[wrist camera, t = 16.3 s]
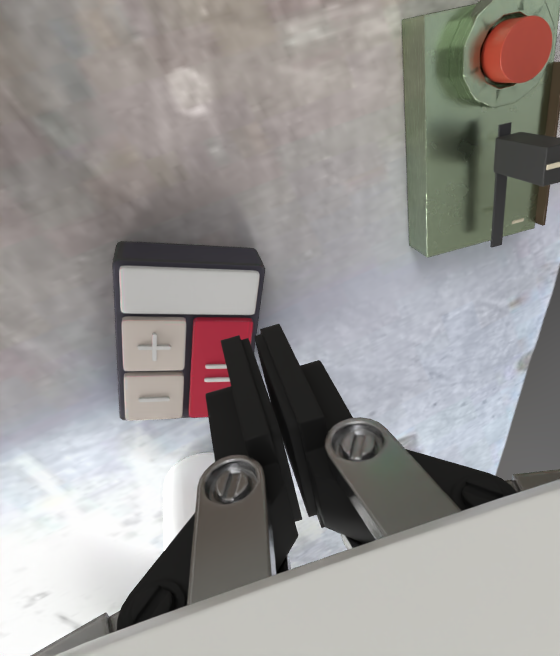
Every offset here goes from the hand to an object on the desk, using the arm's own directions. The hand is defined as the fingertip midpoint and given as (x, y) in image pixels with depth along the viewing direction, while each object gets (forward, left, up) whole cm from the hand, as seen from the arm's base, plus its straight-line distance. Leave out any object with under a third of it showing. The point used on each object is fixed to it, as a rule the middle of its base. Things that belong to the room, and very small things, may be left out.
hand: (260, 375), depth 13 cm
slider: (+10, +20, -20) cm, 29 cm away
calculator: (+9, -8, -25) cm, 28 cm away
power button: (+4, +22, -21) cm, 30 cm away
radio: (+9, +20, -25) cm, 33 cm away
